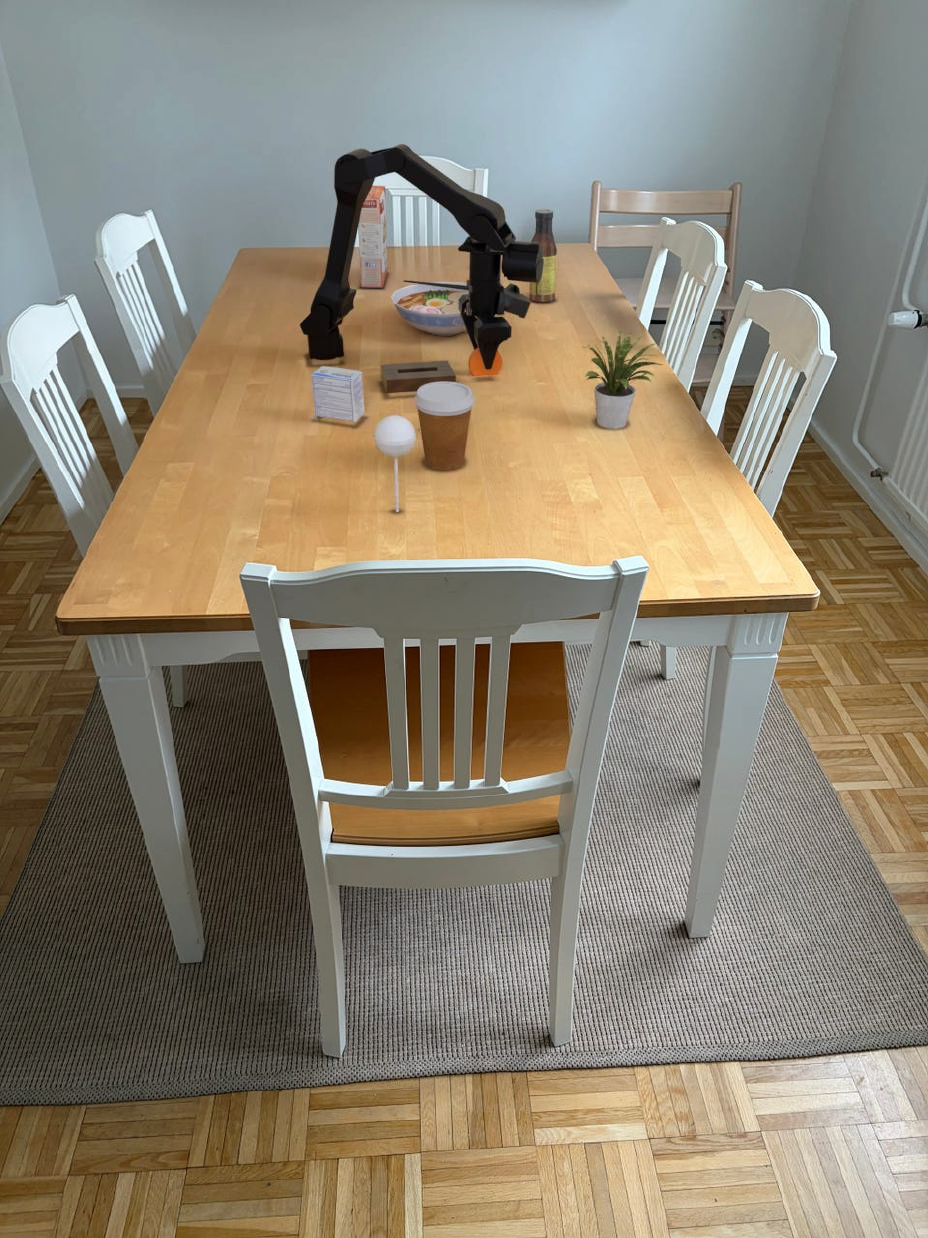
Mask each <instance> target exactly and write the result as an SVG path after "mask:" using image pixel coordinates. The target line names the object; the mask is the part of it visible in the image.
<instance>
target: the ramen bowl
mask: <svg viewBox="0 0 928 1238" xmlns="http://www.w3.org/2000/svg"><path fill="white" fill-rule="evenodd" d="M402 282H403V283H411V284H410V285H406V286H403V287H401V288H398V289H396V290H394V292H393V293H392V294H391V295H390V298H391V300H392V303H393V304H394V307H395V309H396V311H397V313H398V314H399V315H400V317H401V318H402V319H403V320H404V321H405V322H406V323H407V324H409V325H410V326H412V327H414V328H416V329H418V330H420V331H423V332H426V333H429V334H430V335H433V336H439V337H452V336H456V335H458V334H460V333H462V332H467V330H466V327H465V325H464V322H463V320H462V317H461V315H460V313H461V312H460V311H459V309H458V299H459V298H460V297H461V296H462V295H463V294H469V288H468V287H467V282H459V281H418V280H405V279H404V280H402Z"/></svg>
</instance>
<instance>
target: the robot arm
mask: <svg viewBox="0 0 928 1238" xmlns="http://www.w3.org/2000/svg"><path fill="white" fill-rule="evenodd" d="M392 173H393V174H394V173H396V174H397V175H399V176H400V177H401V178H403V179H404V180H406V181H407V182H408V183H409V184H411V185H412V186H414V188H417V189H418V190H419V191H421V192H422V193H423V194H425V195H426V196H428V197H429V198H430V199H432V200H433V201H435V202H436V204H437V203H438V205H440V206H441V207H442V208H444V209H445V210H447V211H448V212H449V213H450V214H451V215H452V216H453V218H454V219H455V221H456V222H457V224H458V225H459V226H460V228H461V229H463V230H464V232H465V233H467V235H468V236H467V237H466V238H465V240H464V242H463V243H462V244H461V245H459V246H458V248H457V251H458V252H461V253H462V252H463V253H469V264H468V265H469V267H468V268H469V269H468V270H469V271H468V273H469V274H468V275H469V276H468V279H466V283H467V287H468V288H469V294H463V295H462V296H461V297H460V298H459V299H458V309H459V311H460V312H461V313H460V315H461V317H462V320H463V322H464V325H465V327H466V332H467V335H468V338H469V340H470V343H471V346H472V349H473V351H474V350H475V349H477V348H479V351H480V354H481V357H482V360H483V363H484V366H485V369H486V370H489V369H491V368H492V365H493V362H494V359H495V356H496V353H497V350H499V347H500V345H501V344H502V343H503V342H506V341H508V340H509V339H511V338H512V330H513V329H512V328H513V327H512V325H511V324H510V323H509V322H508V320H507V319H506V318H505V317H504V315H505V312H506V313H509V314H511V315H516V316H517V317H518V318H520V319H525V318H526V316H527V314H528V311H529V309H530V306H531V303H532V301H531V299H529V298H528V297H527V296H526V295H525V294H523V293H520V287H519V286H518V285H517V284H515V283H512V281H514V282H522V283H523V282H524V283H530V282H532V283H539V282H540V280H541V276H542V272H543V264H544V259H543V254H542V250H541V242H531V241H521V240H520V241H518V240H517V237H516V235H515V234H514V232H513V230H512V229H511V227H510V226H509V225H510V224H508V222H507V221H506V212H505V209H504V208H503V207H502V205H501V204H500V203H498V202H497V201H495V200H493V199H490V198H488V197H486V196H485V195H482V194H479V193H476V192H472V191H470V190H468V189H466V188H465V187H462V185H461V186H460V185H459V184H458V183H457V182H455V181H454V180H453V179H451V178H450V177H449V176H448V175H446V174H445V173H443V172H442V171H440V170H439V169H438V168H436V167H435V166H433V165H432V164H431V163H429V162H428V161H427V160H425V159H424V158H422V157H421V156H420V155H418V154H417V153H415V152H414V151H413V150H412V149H411V147H410V146H409V145H406V144H403V143H400V144H397V145H395V146H393V147H387V148H383V149H378V150H374V151H370V150H368V149H365V148H356V149H354V150H352V151H349V152H346V153H345V154H343V155H341V156H340V157H338V158H337V160H335V164H334V171H333V188H334V192H335V197H336V209H335V214H334V220H333V225H332V230H331V236H330V242H329V248H328V254H327V260H326V265H325V271H324V276H323V279H322V281H321V283H320V284H319V286H318V288H317V289H316V292H315V294H314V297H313V298H312V303H311V305H310V309H309V314H308V315H307V316H306V317H305V318H304V319H303V320H302V321H301V322H300V324H299V327H300V329H301V332H302V334H303V335H305V336H307V337H306V338H307V348H308V349H307V350H308V357H309V359H310V360H317V361H331V360H335V359H338V358H341V357H345V350H344V338H343V334H342V333H341V331H340V328H339V326H341V325H342V324H343V321H344V318H345V317H347V316H348V315H349V313H350V312H351V311H353V310H354V308H355V306H354V300H355V297H356V295H357V289H354V288H351V286H350V285H351V284H350V281H349V278H350V277H349V276H350V273H351V267H352V261H353V256H354V250H355V246H356V241H357V237H358V236H357V235H358V225H359V220H360V215H361V210H362V206H363V203H364V201H365V200H366V198H367V196H368V194H369V192H370V190H371V188H372V186H374V183H375V180H376V178H378V177H379V178H380V177H382V176H385V175H389V174H392ZM501 273H502V274H503V277H504V278H506V280H507V281H511V282H510V283H509V284H508V285H507V286H506V287H505V286H504V285H503V284H502V283H501ZM496 315H497V316H496Z"/></svg>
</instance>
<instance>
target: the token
mask: <svg viewBox="0 0 928 1238" xmlns="http://www.w3.org/2000/svg"><path fill="white" fill-rule="evenodd" d="M498 350H499V349H498ZM498 350H497V353H496V356H495V359H494V362H493V365H492V368H491V369H489V370H486V369H485V366H484V363H483V360H482V357H481V354H480V351H479V348H477V349H475V350H474V349H473V351H472V352H471V353H470V355H469V357H468V362H467V363H468V368H469V371H470V373H471V374H472V376H474V377H485V376H487V377H488V376H498V375H499V374H500V372H501V371H502V367H503V357H502V354H501V353H500V352H499V351H498Z"/></svg>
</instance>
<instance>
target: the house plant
mask: <svg viewBox="0 0 928 1238" xmlns="http://www.w3.org/2000/svg"><path fill="white" fill-rule="evenodd" d="M632 333H633V331H629V332H628V333H627V334H626V335H625V337H624V338H623V340H622V342H621V337H622V329H620V330H619V332H618V335H617V338H616V344H615V350H614V356H613V350H612V347H611V345H610V343H609V342H608V340H607V339H606V338H605V337H604V336H603V335H601V338H602V341H601V340H600V339H596V338H594V339H595V340H596V341H599V342H601V343H602V344H603V345H604V349H605V351H606V355H607V362H606V360H605V357H604V355H603V353H602V352H601V350H600V349H599V348H598V347H597V345H596V344H595V343H594V342H591V341H590V343H591V344H592V345H593V346H594V347H595V348H596V349H597V350H596V349H595V348H594V347H593V346H591V345H590V344H588V343H586V345H587V347H586V346H583V348H585V349H589V350H591V351H592V353H594V355H595V356H596V357H592V358H591V359H590V360H591V362H593V363H594V364H595V365H596V366H597V367H598V368H599V369H600V370H601V372H602V374H603V375H604V377H603V376H602V375H600V374H599V373H598V372H596V371H594V370H589V371H587V373H586V374H585V376H584V378H586V379H585V381H587V380H593V379H600V380H602V382H600V383H598V384H596V385H595V386H594V398H595V399H594V401H595V413H596V424H597V425H598V426H600V427H602V428H605V429H609V430H613V429H614V430H617V429H622V428H624V427H626V426H627V423H628V420H629V419H628V418H629V416H630V412H631V409H632V405H633V403H634V399H635V395H636V392H637V391H636V388H635V387H634V386H633V385H630V383H629V382H630V381H631V383H633V382H634V381H636V380H642V381H643V380H644V381H648V382H651V384H652V383H653V382H652V381H651V379H650V378H649V377H648V376H647V375H649V376H652V377H653V378H655V374H653V372H651V371H650V370H638V369H639V368H641V367H645V366H653V365H656V366H664V364H662V363H657V362H653V361H650V359H649V358H646V356H650V357H655V356H656V357H657V356H658V355H657V354H653V353H652V354H644V353H645V352H646V351H647V350H648V349H649V348H651V347H654V346H655V345H657V344H658V343H650V344H648V345H645V346H644V347H642V348H641V349H640V350H639V351H638V352H636V354H634V355H633V356H632V357H631V358H630V359H626V358H627V356H629V353H630V352H631V350H632V349H633V347H634V346H635V345H636V344H637V343H638V342H639V341H640V339H641V338H642V337H643V335H641V336H639V337H638V338H637V339H635V340H634V341H633V342H631V337H632V335H633V334H632ZM597 351H598V352H597ZM640 360H646V361H640ZM647 360H648V361H647ZM637 370H638V371H637ZM638 374H639V375H638ZM640 374H641V375H640Z"/></svg>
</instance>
